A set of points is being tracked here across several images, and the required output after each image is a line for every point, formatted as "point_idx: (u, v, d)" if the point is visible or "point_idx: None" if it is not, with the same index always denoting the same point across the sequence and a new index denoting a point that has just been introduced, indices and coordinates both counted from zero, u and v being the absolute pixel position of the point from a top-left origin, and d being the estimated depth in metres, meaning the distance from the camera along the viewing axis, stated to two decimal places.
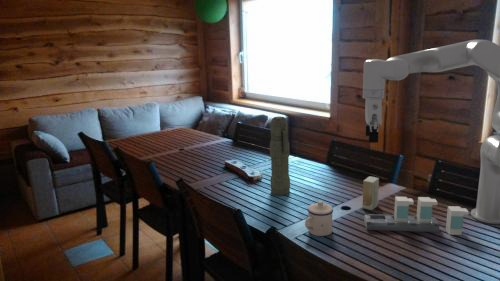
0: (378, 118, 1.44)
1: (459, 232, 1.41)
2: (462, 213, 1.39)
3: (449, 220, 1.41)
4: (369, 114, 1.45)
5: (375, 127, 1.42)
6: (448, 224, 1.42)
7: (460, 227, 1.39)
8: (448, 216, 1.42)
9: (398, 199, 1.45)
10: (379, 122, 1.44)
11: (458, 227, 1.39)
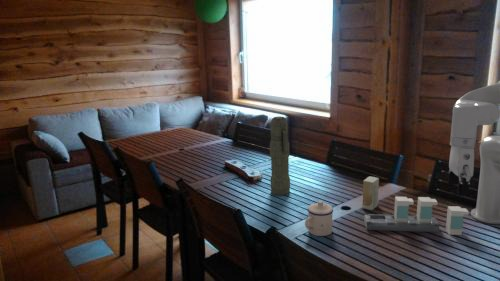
0: (470, 169, 1.31)
1: (459, 232, 1.41)
2: (462, 213, 1.39)
3: (449, 220, 1.41)
4: (459, 164, 1.31)
5: (468, 180, 1.29)
6: (448, 224, 1.42)
7: (460, 227, 1.39)
8: (448, 216, 1.42)
9: (398, 199, 1.45)
10: (470, 173, 1.31)
11: (458, 227, 1.39)
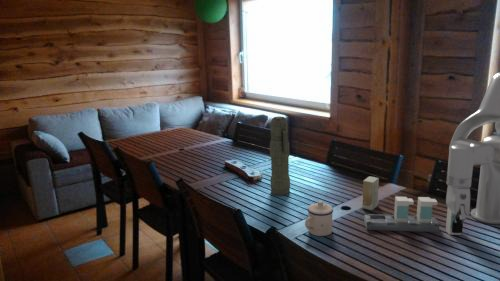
0: (466, 208, 1.35)
1: None
2: None
3: (449, 220, 1.41)
4: (456, 204, 1.35)
5: None
6: (448, 224, 1.42)
7: None
8: (448, 216, 1.42)
9: (398, 199, 1.45)
10: (467, 212, 1.35)
11: None
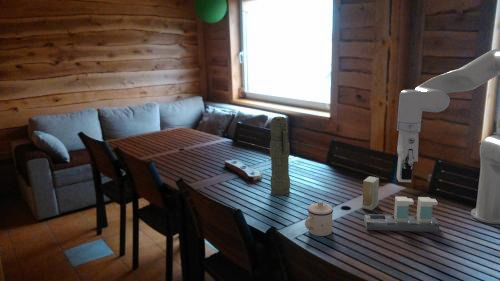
0: (414, 153, 1.34)
1: None
2: None
3: (399, 167, 1.41)
4: (405, 148, 1.35)
5: None
6: (398, 172, 1.42)
7: None
8: (398, 164, 1.41)
9: (398, 199, 1.45)
10: (415, 157, 1.35)
11: None
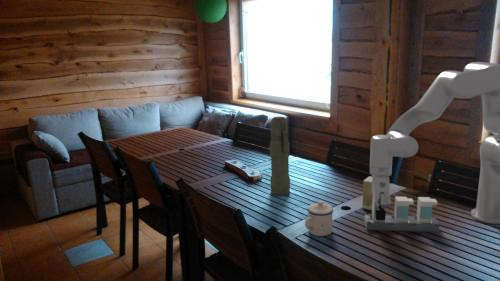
0: (386, 196, 1.41)
1: (382, 221, 1.47)
2: None
3: (373, 209, 1.47)
4: (376, 192, 1.41)
5: (382, 207, 1.40)
6: (373, 213, 1.48)
7: None
8: (373, 205, 1.48)
9: (398, 199, 1.45)
10: (387, 200, 1.41)
11: None
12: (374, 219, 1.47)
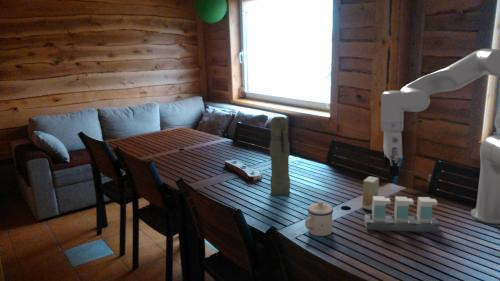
0: (398, 151, 1.40)
1: (382, 221, 1.47)
2: (384, 202, 1.45)
3: (373, 209, 1.47)
4: (389, 147, 1.40)
5: (396, 161, 1.38)
6: (373, 213, 1.48)
7: (382, 216, 1.46)
8: (373, 205, 1.48)
9: (398, 199, 1.45)
10: (399, 155, 1.40)
11: (381, 216, 1.46)
12: (374, 219, 1.47)
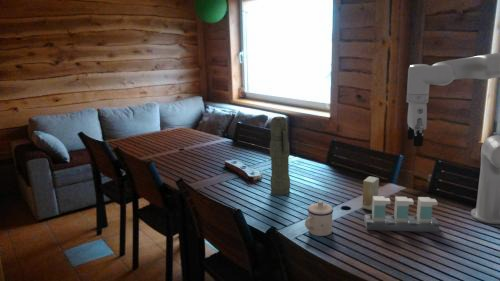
0: (423, 122, 1.46)
1: (382, 221, 1.47)
2: (384, 202, 1.45)
3: (373, 209, 1.47)
4: (414, 118, 1.47)
5: (421, 131, 1.45)
6: (373, 213, 1.48)
7: (382, 216, 1.46)
8: (373, 205, 1.48)
9: (398, 199, 1.45)
10: (424, 126, 1.47)
11: (381, 216, 1.46)
12: (374, 219, 1.47)
